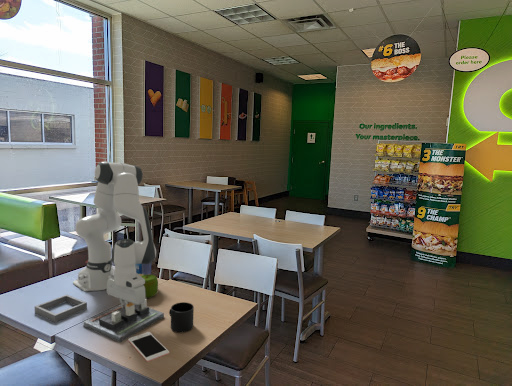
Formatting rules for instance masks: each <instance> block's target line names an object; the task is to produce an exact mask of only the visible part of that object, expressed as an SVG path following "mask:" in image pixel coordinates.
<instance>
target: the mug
mask: <svg viewBox="0 0 512 386" xmlns="http://www.w3.org/2000/svg"><path fill="white" fill-rule="evenodd" d="M194 310H195V308H194V304H192V303H190V302H186V301H184V302H182V301H181V302H176V303H174V304H173V305H172V306H171V307H170V309H169V311H168V313H169V316H170V329H171V330H172V331H173V332H175V333H178V334H179V333H180V334H181V333H186V332H187V333H188V332H190V331H191V330H192V329H193V328H194Z"/></svg>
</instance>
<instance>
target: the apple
mask: <svg viewBox="0 0 512 386" xmlns="http://www.w3.org/2000/svg"><path fill="white" fill-rule="evenodd" d="M141 277H142V278H143V279H145V284H143V285H144V287H145V299H149V298H153V297H154V296H155V295H157V294H158V290H159V289H158V288H159V280H158V277H157V276H156V275H154V274H151V275H143V276H141Z"/></svg>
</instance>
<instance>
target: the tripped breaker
mask: <svg viewBox="0 0 512 386" xmlns="http://www.w3.org/2000/svg"><path fill="white" fill-rule="evenodd" d="M134 313H135V305H134V304H133V303H129V304H127V306H126V315H127V316H130V315H132V314H134Z"/></svg>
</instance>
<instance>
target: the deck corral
mask: <svg viewBox="0 0 512 386" xmlns="http://www.w3.org/2000/svg"><path fill="white" fill-rule="evenodd" d="M64 303H68V304H71V305H73V306H72V307H70V308H67V309H65V310H62V311H60V312H57V313H55V312H52V311H50V310H49V309H51V307H52V308H53V307H56V306H59V305H61V304H64ZM48 308H49V309H48ZM87 309H88V302H86V301H84V300H81V299H79V298H77V297H74V296H71V295H69V294H65V295H62V296H60V297H57V298H54V299H51V300H48V301H46V302H43V303H40V304H38V305H35V306H34V313H35V314H36V313H37V315H38V314H39V316H41V317H43V318H45V319H47V320H49V321H52V322H53V323H57V322H59V321H61V320H63V319H66V318H68V317H71V316H73V315H75V314H78V313H80V312H82V311H85V310H87Z"/></svg>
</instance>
